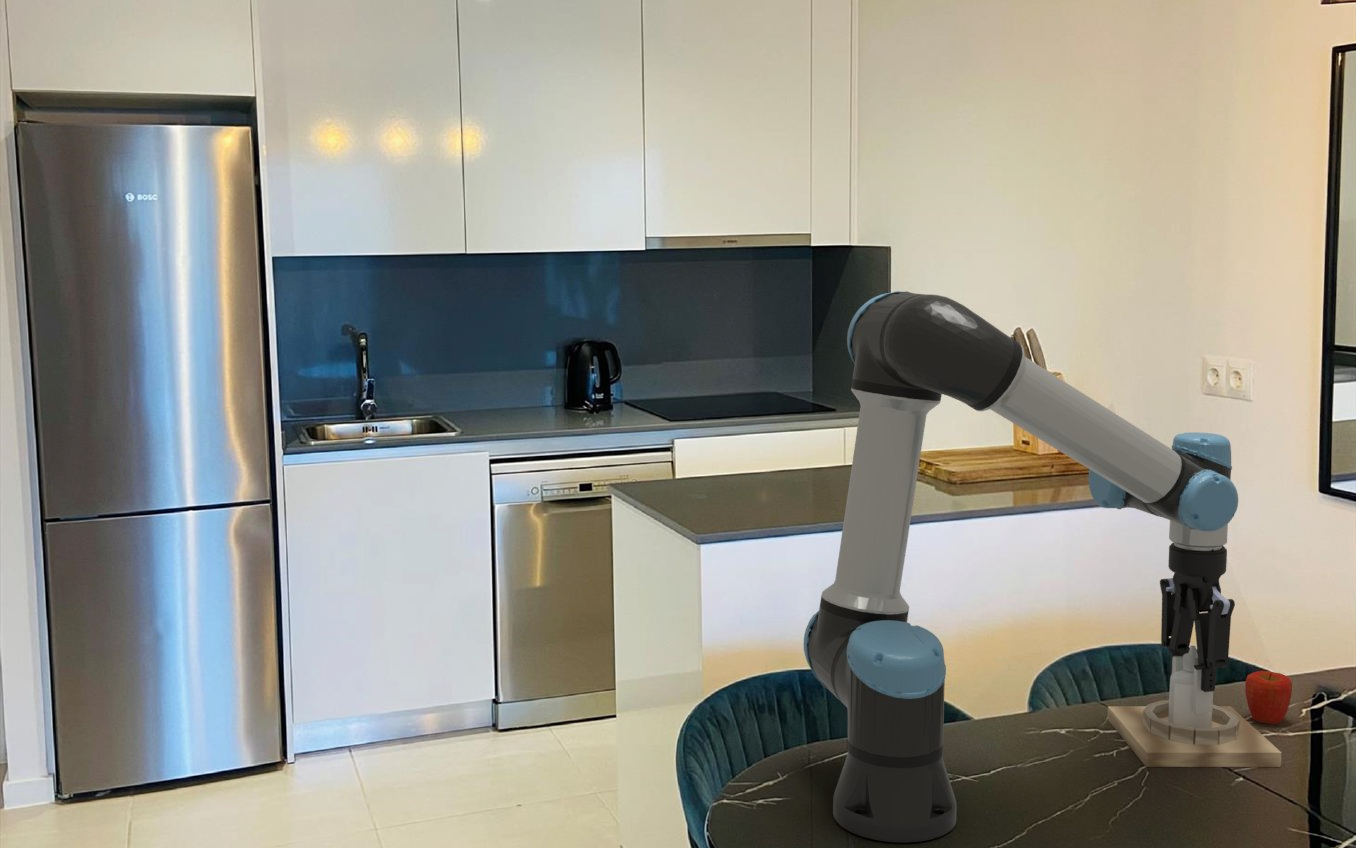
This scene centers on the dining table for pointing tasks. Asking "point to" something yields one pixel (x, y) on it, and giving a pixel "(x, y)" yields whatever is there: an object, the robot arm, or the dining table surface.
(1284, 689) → the apple
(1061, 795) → the dining table surface
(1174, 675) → the eye dropper bottle
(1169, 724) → the socket stand
